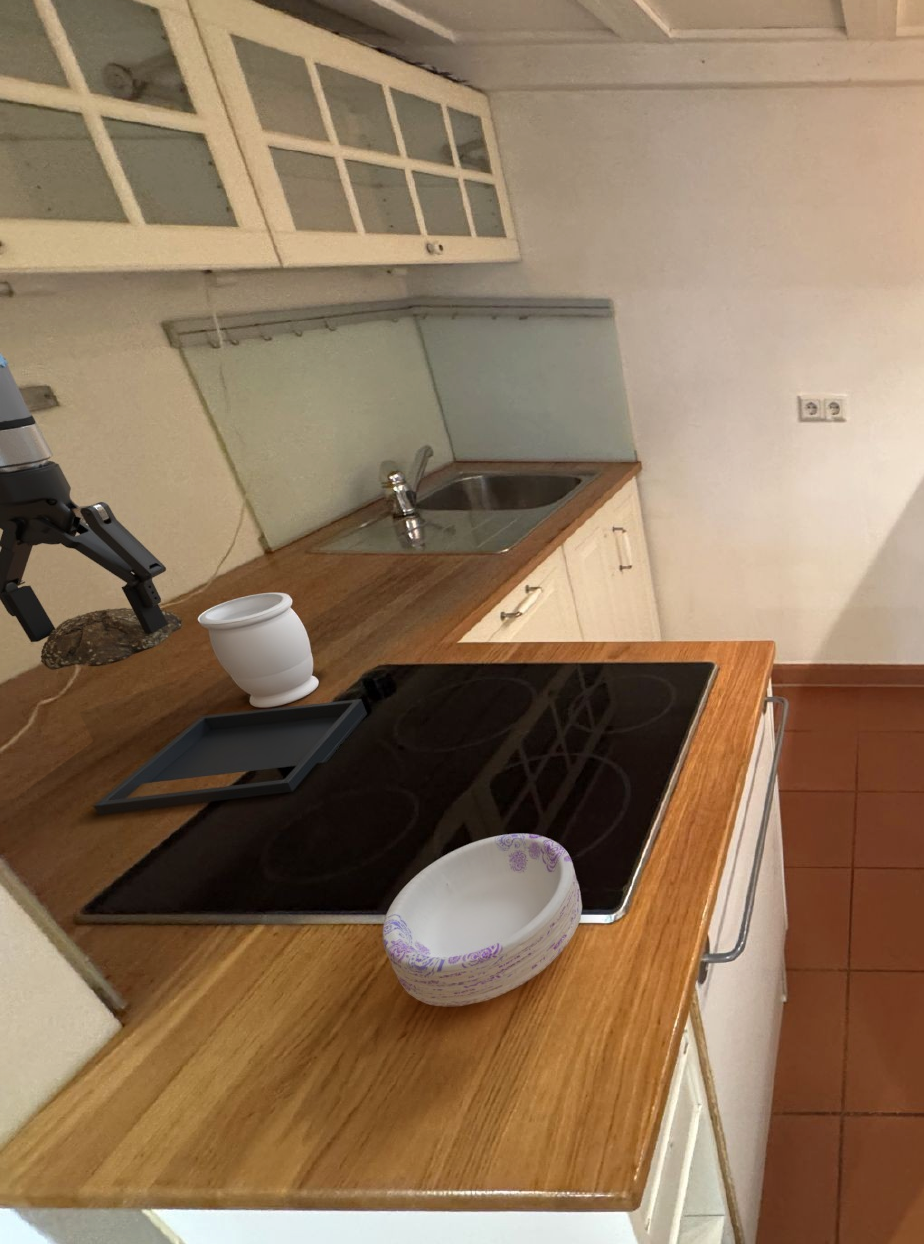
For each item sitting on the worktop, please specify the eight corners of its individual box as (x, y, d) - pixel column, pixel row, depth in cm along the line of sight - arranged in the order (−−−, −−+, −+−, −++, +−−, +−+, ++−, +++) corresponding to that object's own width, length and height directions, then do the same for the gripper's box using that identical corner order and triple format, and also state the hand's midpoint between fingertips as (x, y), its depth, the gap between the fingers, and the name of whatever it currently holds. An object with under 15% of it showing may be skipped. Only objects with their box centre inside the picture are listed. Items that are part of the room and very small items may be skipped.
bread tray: (104, 822, 82) (92, 805, 81) (209, 730, 98) (201, 715, 97) (296, 799, 85) (287, 782, 84) (367, 713, 101) (361, 698, 100)
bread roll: (79, 635, 93) (59, 601, 91) (194, 617, 97) (178, 585, 95) (17, 681, 82) (-7, 645, 80) (149, 660, 86) (129, 624, 84)
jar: (254, 721, 100) (208, 630, 94) (233, 698, 106) (188, 610, 99) (338, 688, 108) (301, 602, 101) (314, 669, 113) (278, 585, 107)
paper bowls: (608, 883, 72) (593, 825, 68) (555, 1026, 58) (533, 963, 55) (460, 891, 71) (437, 833, 68) (371, 1037, 58) (337, 974, 54)
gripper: (153, 453, 84) (226, 612, 93) (-81, 462, 81) (19, 627, 90) (101, 468, 77) (186, 638, 87) (-156, 479, 74) (-39, 655, 83)
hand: (101, 633), depth 88 cm, fingers closed on bread roll, 12 cm apart
